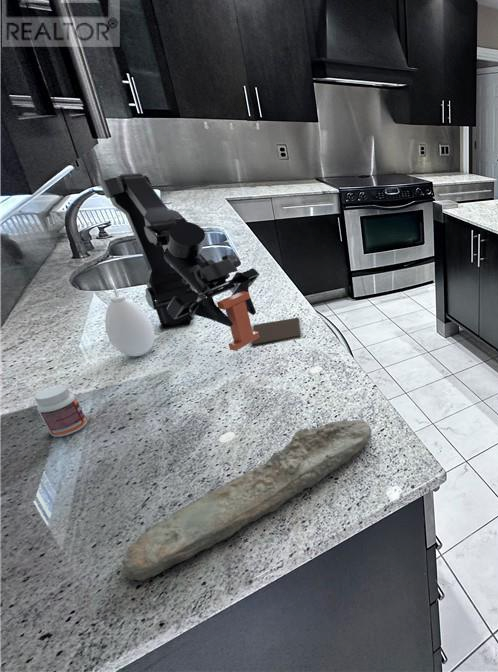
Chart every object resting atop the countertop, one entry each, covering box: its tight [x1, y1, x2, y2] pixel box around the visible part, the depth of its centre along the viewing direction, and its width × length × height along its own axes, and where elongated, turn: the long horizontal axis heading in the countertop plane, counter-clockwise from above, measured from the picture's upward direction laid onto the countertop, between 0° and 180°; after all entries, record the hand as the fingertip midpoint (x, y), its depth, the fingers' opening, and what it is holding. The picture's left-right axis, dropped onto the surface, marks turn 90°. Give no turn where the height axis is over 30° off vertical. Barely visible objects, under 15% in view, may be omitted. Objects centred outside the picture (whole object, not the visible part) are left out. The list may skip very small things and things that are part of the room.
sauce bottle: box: [104, 285, 156, 357], centre depth 94 cm, size 8×8×18 cm
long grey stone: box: [121, 419, 372, 582], centre depth 64 cm, size 35×5×10 cm
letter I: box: [216, 291, 259, 352], centre depth 92 cm, size 2×6×12 cm, turn 163°
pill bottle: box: [34, 384, 88, 438], centre depth 73 cm, size 5×5×8 cm
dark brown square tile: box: [251, 317, 302, 347], centre depth 109 cm, size 11×11×1 cm
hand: (243, 319), depth 91 cm, fingers closed on letter I, 5 cm apart
